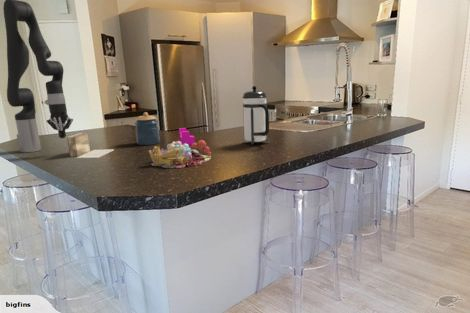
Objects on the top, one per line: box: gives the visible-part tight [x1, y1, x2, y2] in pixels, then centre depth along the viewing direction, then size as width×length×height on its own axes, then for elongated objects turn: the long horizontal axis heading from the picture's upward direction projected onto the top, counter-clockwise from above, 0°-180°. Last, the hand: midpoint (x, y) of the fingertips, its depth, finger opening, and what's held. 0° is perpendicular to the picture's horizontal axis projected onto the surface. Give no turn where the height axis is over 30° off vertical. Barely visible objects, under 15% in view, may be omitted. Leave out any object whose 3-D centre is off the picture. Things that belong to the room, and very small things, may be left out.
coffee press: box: [241, 85, 270, 146], centre depth 175 cm, size 17×16×30 cm
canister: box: [134, 111, 161, 146], centre depth 188 cm, size 13×13×18 cm
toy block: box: [178, 127, 196, 146], centre depth 186 cm, size 15×6×8 cm, turn 16°
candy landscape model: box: [148, 139, 212, 169], centre depth 145 cm, size 25×24×9 cm
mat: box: [76, 148, 115, 159], centre depth 167 cm, size 11×18×1 cm, turn 176°
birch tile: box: [66, 132, 91, 158], centre depth 167 cm, size 4×12×10 cm, turn 176°
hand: (62, 137), depth 167 cm, fingers closed
